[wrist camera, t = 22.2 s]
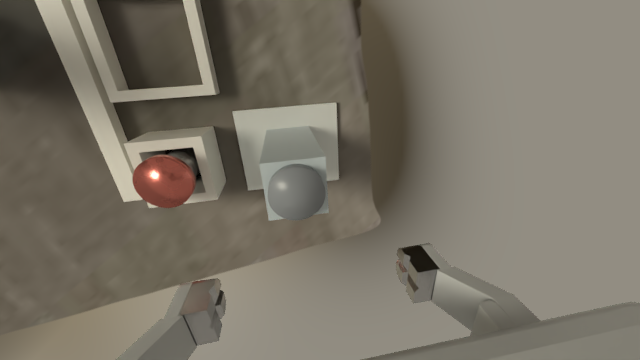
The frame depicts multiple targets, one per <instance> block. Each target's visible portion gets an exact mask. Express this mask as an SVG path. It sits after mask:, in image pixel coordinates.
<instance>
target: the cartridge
mask: <svg viewBox="0 0 640 360" xmlns="http://www.w3.org/2000/svg"><path fill="white" fill-rule="evenodd" d="M259 165H260V171H261V177H262V182H263V188H264V194H265V200H266V205H267V211H268V217H269V221H270V220H278V219H288V220H303V219H306V218H309V217H311V216H312V215H314V214H322V213H329V210H328V192H327V174H326V157H325V155H324V153H323V151H322V149H321V148H320V146H319V144H318V142H317V140H316V139H315V137H314V135H313V133H312V132H311V130H310V128H309V126H301V127H291V128H280V129H269V130H266V134H265V139H264V144H263V149H262V153H261V158H260V163H259Z"/></svg>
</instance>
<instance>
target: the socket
mask: <svg viewBox="0 0 640 360" xmlns="http://www.w3.org/2000/svg"><path fill="white" fill-rule="evenodd" d="M35 2H36V5H37V7H38V9H39V11H40V14H41V16H42V18H43V20H44V23H45V25H46V27H47V29H48V32H49V34H50V36H51V38H52V41H53V43H54V45H55V47H56V50H57V52H58V54H59V56H60V59H61V61H62V63H63V66H64V68H65V70H66V72H67V75H68V77H69V79H70V81H71V84H72V86H73V88H74V90H75V93H76V95H77V97H78V99H79V102H80V104H81V106H82V108H83V111H84V113H85V115H86V117H87V120H88V122H89V124H90V126H91V129H92V131H93V133H94V135H95V138H96V140H97V142H98V144H99V147H100V149H101V151H102V153H103V156H104V158H105V160H106V162H107V165H108V167H109V169H110V171H111V174H112V176H113V178H114V180H115V183H116V185H117V187H118V189H119V192H120V194H121V196H122V198H123V201H124V202H127V201H135V200H142V199H143V198H141V197H140V196H139V194H138V193H137V192H136V190H135V188H134V185H133V180H132V177H133V173H134V169H133V166H132V164H131V161H130V159H129V156H128V154H127V151H126V149H125V146H124V143H126V142H128V141H127V138H126V136H125V133H124V131H123V128H122V125H121V123H120V120H119V118H118V115H117V113H116V110H115V108H114V105H113V102H126V101H139V100H152V99H165V98H178V97H191V96H204V95H216V94H219V93H220V91H219V87H218V82H217V78H216V73H215V68H214V64H213V59H212V55H211V50H210V45H209V41H208V36H207V32H206V27H205V22H204V18H203V13H202V8H201V4H200V0H183V3H184V8H185V12H186V16H187V20H188V24H189V28H190V33H191V37H192V41H193V45H194V49H195V53H196V58H197V62H198V66H199V70H200V74H201V78H202V82H203V85H189V86H175V87H161V88H147V89H133V90H129V89H128V86H127V83H126V80H125V78H124V75H123V72H122V69H121V67H120V64H119V61H118V58H117V55H116V53H115V50H114V47H113V44H112V41H111V39H110V36H109V33H108V30H107V27H106V25H105V22H104V19H103V16H102V14H101V11H100V8H99V5H98V2H97V0H35Z"/></svg>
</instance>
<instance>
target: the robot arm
mask: <svg viewBox="0 0 640 360" xmlns="http://www.w3.org/2000/svg"><path fill="white" fill-rule="evenodd" d="M397 256H398V257H399V260H398V261H397V262H396V270H397V275H398V277H399V279H400V281H401V283H403V284H404V285H406V292H407V293H408V295H409V297H410V299H411V300H412V302H413V303H418V302H424V301H430V300H432V302H433V303H434V304H436V305H437V306H438V307H440V308H441V309H443V310H444V311H445V312H447V313H448V314H449V315H451V316H452V317H453V318H455V319H456V320H458V321H459V322H460V323H462V324H463V325H464V326H465V327H467V328H468V329H470V330H471V331H472V332H471V335H470V336H469V337H464V338H459V339H454V340H450V341H445V342H440V343H436V344H431V345H427V346H422V347H418V348H413V349H409V350H403V351H399V352H394V353H390V354H385V355H380V356H376V357H371V358H367V359H362V360H640V303H636V302H628V303H621V304H616V305H612V306H607V307H603V308H598V309H594V310H589V311H585V312H580V313H575V314H570V315H566V316H561V317H557V318H552V319H547V320H543V321H540V320H539V319H538V318H537V317H536V316H535V315H534V314H533V313H532V312H531V311H530V310H529V309H528V308H527V307H526V306H525V305H524V304H523V303H522V302H520V300H518V298H516V297H515V296H514V295H513V294H511V293H509V292H507V291H505V290H502V289H500V288H498V287H496V286H494V285H492V284H490V283H488V282H485V281H483V280H481V279H479V278H477V277H475V276H473V275H471V274H469V273H467V272H465V271H463V270H460V269H458V268H456V267H451V266H450V265H449V264H448V263H447V261H446V260H445V259H444V258H443V257H442V256H441V255H440V253H439V252H438V251H437V250H436V249H435V248H434V247H433V246H432V244H430V243H426V244H420V245H415V246H409V247H404V248H399V249H398V250H397ZM220 287H221V283H220V280H219V279H218V278H217V279H210V280H202V281H195V282H190V283H182V284H181V285H179V287H178V289H177V291H176V293H175V295H174V297H173V300H172V302H171V304H170V306H169V309H168V311H167V313H166V315H165V317H164V319H160V320H159V321H158V322H157V323H156V324H154V325H153V326H152V327H151V328H150V329H149V330H148V331H147V332H146V333H145V334H143V336H141V337H140V338H139V339H138V340H137V341H136V342H135V343H133V344H132V345H131V346H130V347H129V348H128V349H127V350H126V351H125V352H124V353H123V354H122V355H120V356H119V357H118V358H117V359H116V360H188V358H189V357H190V356H191V354H192V353H193V351H194V350H195V349H196V347H197V345H202V344H207V343H211V342H216V341H219V337H220V332H221V327H222V323H221V321H220V319H221V318H222V317H223V316H224V314H225V306H226V300H225V295H224V292H223V291H221V290H220Z"/></svg>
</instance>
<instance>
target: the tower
mask: <svg viewBox="0 0 640 360" xmlns="http://www.w3.org/2000/svg"><path fill="white" fill-rule="evenodd" d="M124 146H125V149H126V151H127V154H128V156H129V159H130V161H131V164H132V166H133V169H134V170H135V169H136V167H137V166H138V165H139V164H140V163H142V162H143V161H145V160H146V159H148V158H150V157H152V156H155V155H166V153H165V150H170V149H181V148H191V147H193V149H194V152H195V156H196V159H197V163H198V166H199V170H200V173H201V177H195V179H196V186H195V190H194V192H193V193H192V195H191V196H190V198H189V199H188V200H187V201H186V202H185V203H193V202H202V201H210V200H218V198H219V196H220V194H221V192H222V190H223V188H224V185H225V183H226V177H225V172H224V168H223V164H222V160H221V156H220V152H219V147H218V143H217V139H216V135H215V131H214V127H213V126H209V127H198V128H187V129H176V130H165V131H154V132H148V133H145V134H143V135H141V136H139V137H137V138H135V139H132V140H130V141H128V142H126V143H124ZM185 203H183V204H185ZM147 204H148V206H149V208H153V207H158V206H155V205H152V204H150V203H148V202H147Z"/></svg>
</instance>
